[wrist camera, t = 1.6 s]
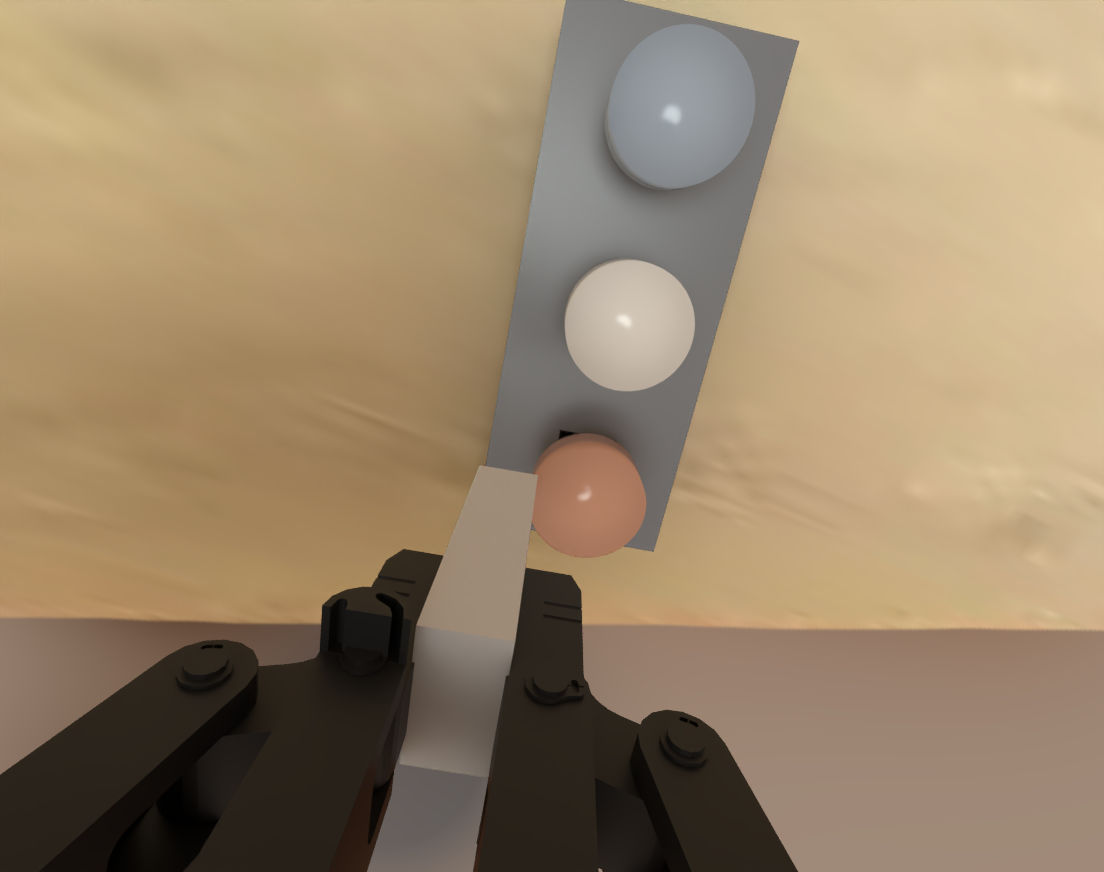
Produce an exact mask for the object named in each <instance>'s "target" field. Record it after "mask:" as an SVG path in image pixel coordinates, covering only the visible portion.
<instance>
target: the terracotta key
mask: <svg viewBox="0 0 1104 872" xmlns="http://www.w3.org/2000/svg"><path fill="white" fill-rule="evenodd" d="M532 474H534V475H538V479H537V486H536V494H535V501H534V508H533V515H532V523H533V525H534V527H535V529H536V531H537V533H538V534H539V535H540V537H541V538H542V539H543V540H544V541H545V542H546V543H547V544H548V545H550V546H551V547H553V548H554V549H556V550H558V551H560V552H562V553H564V554H567V555H571V556H575V557H582V558H591V557H599V556H603V555H607V554H609V553H612V552H614V551H616V550H618V549H620V548H621V547H623V546H624V545H626V544H627V543H628V542H629V541H630V540H631V539H632V538H633V537H634V536H635V535H636V533H637V532H638V530H639V529H640V527H641V525H642V523H643V520H644V517H645V512H646V495H645V491H644V487H643V484H642V481H641V478H640V475H639V472H638V469H637V467H636V464H635V462H634V460H633V458H632V457H631V455H630V454H629V453H628V451H627V450H626V449H625V448H624V447H623V446H621V445H620V444H619V443H617V442H616V441H614V440H612V439H610V438H608V437H605V436H602V435H598V434H591V433H581V434H580V433H574V432H568V433H567V434H566V435H565V436H564V437H563V438H562V439H560V440H558V441H556V442H555V443H553V444H552V445H550V446H549V447H548V448H547V449H546V450H545V451H544V452H543V453H542V454H541V456H540V457H539V459H538V460H537V462H536V464H535V467H534V469H533V473H532Z"/></svg>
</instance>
